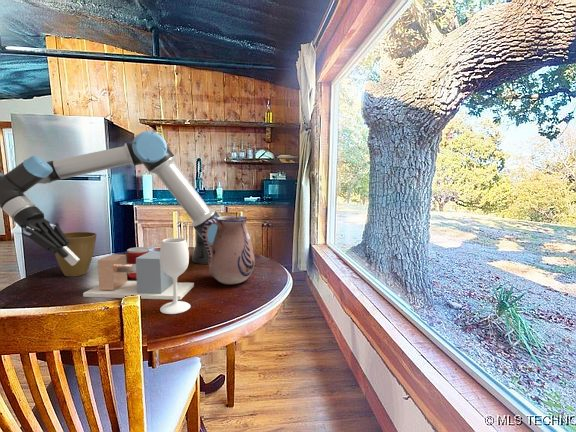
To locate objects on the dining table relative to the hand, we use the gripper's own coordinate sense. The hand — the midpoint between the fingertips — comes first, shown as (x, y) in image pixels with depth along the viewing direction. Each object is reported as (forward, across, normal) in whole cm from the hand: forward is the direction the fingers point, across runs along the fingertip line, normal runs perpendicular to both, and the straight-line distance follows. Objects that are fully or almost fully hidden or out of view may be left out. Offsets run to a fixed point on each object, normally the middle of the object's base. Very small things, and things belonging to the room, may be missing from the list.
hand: (75, 262), depth 103 cm
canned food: (+16, -17, +2) cm, 23 cm away
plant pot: (-2, -17, -16) cm, 23 cm away
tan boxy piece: (+20, -1, +8) cm, 21 cm away
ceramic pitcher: (+42, -13, +28) cm, 52 cm away
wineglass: (+35, +12, +21) cm, 42 cm away
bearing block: (+23, -1, +10) cm, 25 cm away
